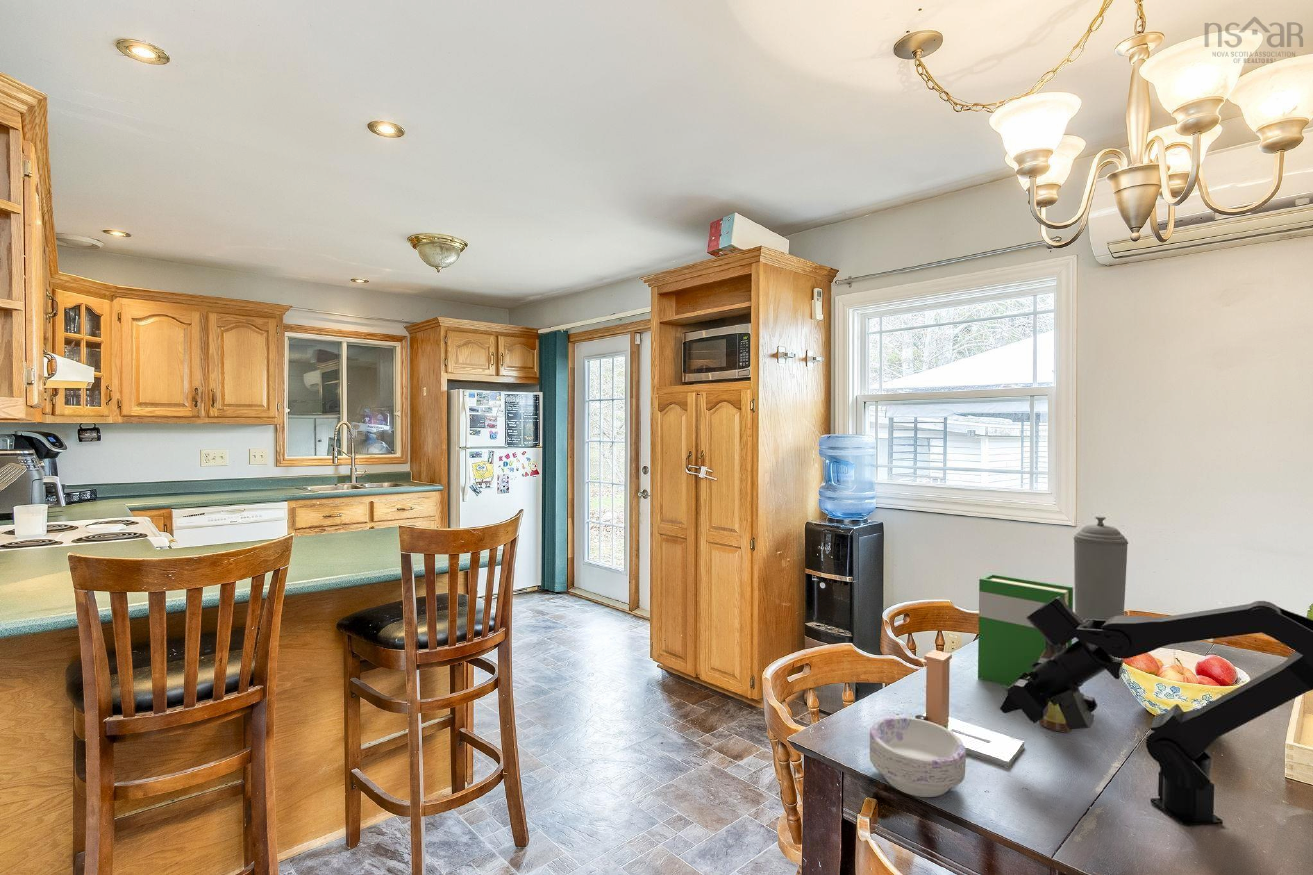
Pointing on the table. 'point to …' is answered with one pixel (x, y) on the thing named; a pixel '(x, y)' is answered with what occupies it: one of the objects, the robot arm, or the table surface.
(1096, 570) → the canister
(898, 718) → the paper bowls
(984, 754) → the fader console
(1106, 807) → the table surface
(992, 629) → the hardback book
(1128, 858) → the table surface
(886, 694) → the table surface
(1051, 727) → the sauce bottle
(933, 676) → the fader tab
